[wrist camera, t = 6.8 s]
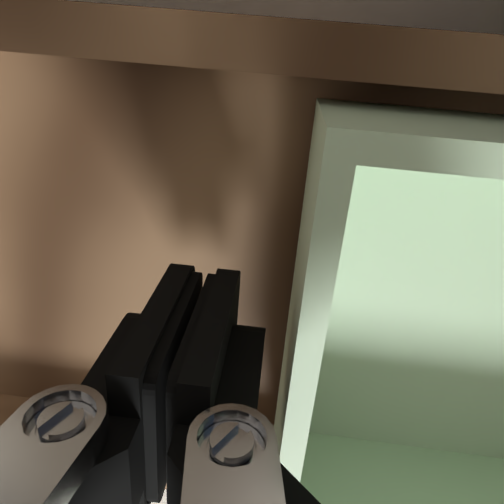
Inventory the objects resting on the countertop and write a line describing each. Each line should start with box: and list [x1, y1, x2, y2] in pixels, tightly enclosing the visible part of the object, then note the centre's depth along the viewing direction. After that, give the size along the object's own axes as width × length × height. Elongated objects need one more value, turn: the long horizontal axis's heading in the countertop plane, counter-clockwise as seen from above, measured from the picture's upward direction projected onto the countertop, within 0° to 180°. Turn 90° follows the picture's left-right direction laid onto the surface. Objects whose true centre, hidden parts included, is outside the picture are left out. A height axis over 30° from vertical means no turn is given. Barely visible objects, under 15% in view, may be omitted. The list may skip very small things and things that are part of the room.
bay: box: [0, 0, 504, 489], centre depth 10 cm, size 24×14×8 cm, turn 86°
